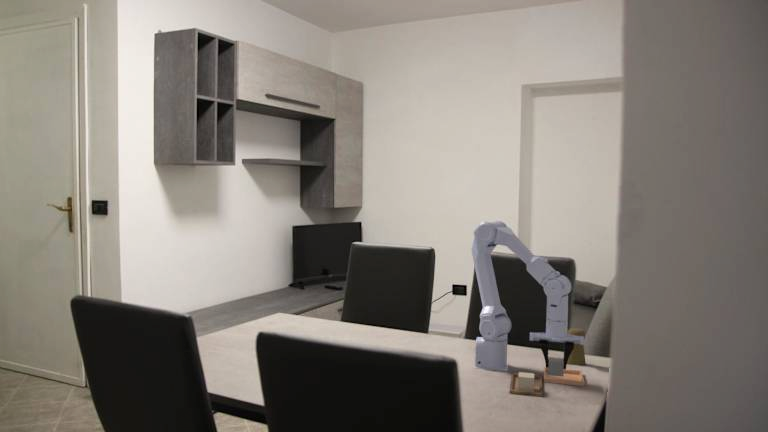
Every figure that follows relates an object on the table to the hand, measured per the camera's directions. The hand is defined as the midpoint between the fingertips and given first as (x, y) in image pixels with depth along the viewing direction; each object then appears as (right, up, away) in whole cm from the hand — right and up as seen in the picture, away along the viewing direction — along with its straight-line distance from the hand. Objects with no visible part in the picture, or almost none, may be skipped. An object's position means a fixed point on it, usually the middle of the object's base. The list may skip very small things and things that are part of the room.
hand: (555, 367), depth 156 cm
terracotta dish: (+3, -4, +2) cm, 5 cm away
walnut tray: (-10, -4, -5) cm, 12 cm away
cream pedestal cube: (-11, -4, -9) cm, 14 cm away
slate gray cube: (0, -2, 0) cm, 2 cm away
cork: (+11, -4, +17) cm, 21 cm away
